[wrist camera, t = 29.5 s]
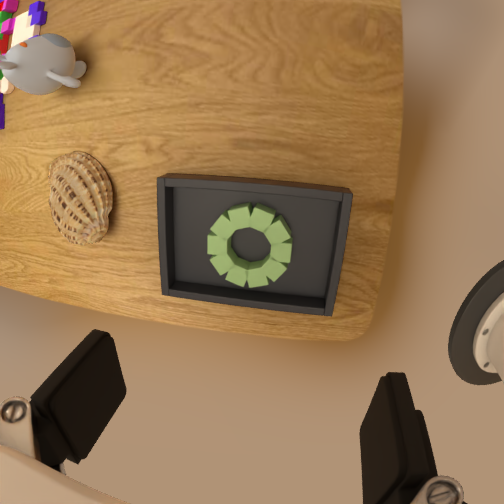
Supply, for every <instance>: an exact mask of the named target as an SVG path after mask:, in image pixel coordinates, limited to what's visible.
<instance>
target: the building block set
mask: <svg viewBox="0 0 504 504" xmlns="http://www.w3.org/2000/svg"><path fill="white" fill-rule="evenodd" d="M18 2H19V1H17V0H0V55H5V54H6V53H7V45H8V38H9V35H10V34H12V33H13V37H12V44H11V48H12V47H13V46H15V45H16V44H18V43H20V42H23V41H25V40H27V39H30V38H34V37H37V36H40V35H39V32H40V26H41V25H43V24H45V22H46V16H47V12H46V11H43V8H44V3H45V2H41V1H37V2H35V3H33V4H31V5H30V7H29V11H27V12H25V13H23V14H21V15H19V16H17V17H15V18H13V19H11V18H12V13H14V12H16V11H17V7H18ZM13 90H14V85H13V84H12V83H10V82H9V81H8V80H7V79H6V78H5V77H4V75H3V73H2V69H1V68H0V129H4V106H5V104H3V94H10V93H11V92H12V91H13Z"/></svg>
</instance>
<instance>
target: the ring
mask: <svg viewBox="0 0 504 504" xmlns="http://www.w3.org/2000/svg"><path fill="white" fill-rule="evenodd" d="M275 213H276V210H274V209H272V208H270V207H267V206H265V205H262V204H260V203H257V204H256V205H255V207H254V209H253V208H252V204H251V202H248V203H243V204H239V205H235V206H232V207H231V208H230V209H229V210H225V211H224V212H223V214H222V215H221V216H220V217H219V218H218V220H217V221H216V222H215V223H214V225H213V226H212V227H211V228H210V230H211V232H210V233H209V234H208V250H207V253H208V254H212V257H211V258H210V261H211V263H212V264H213V266H214V267H215V268H216V270H217V271H218V273H219V274H220V275H223V274H224V273H226V272H228V274H227V276H226V279H225V280H227V281H230V282H232V283H235V284H237V285H239V286H242V287H244V285H245V283H246V280H247V281H248V285H249V288H252V287H258V286H264V285H269V280H270V279H271V280H272V281H273V282H275V281H276V280H277V279H278V278H279V277H280V276H281V275H282V274H283V273H284V272H285V271H286V270H287V267H288V263H290V260H291V251H292V241H293V238H292V237H291V230H290V228H289V226H288V225H287V223H286V222H285V220H284V218H283V217H282V215H279V216H277V217H276V218H274V216H275ZM273 218H274V219H273ZM247 227H251V228H254V229H256V230H258V231H261V232H263V233H264V234H265V236H266V237H267V239H268V241H269V242H270V244H271V251H270V253H269V254H268V255H267V256H266V257H265V258H264V260H260V261H255V262H248V261H246V260H244V259H241V258H239V257H238V256H237V255H236V253H235V252H234V250H233V249H232V247H231V235H232V234H233V233H234V232H235V231H236V230H238V229H243V228H247Z"/></svg>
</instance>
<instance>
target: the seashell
mask: <svg viewBox="0 0 504 504" xmlns="http://www.w3.org/2000/svg"><path fill="white" fill-rule="evenodd" d="M48 177H49V183H50V188H51V190H50V196H49V205H50V207H51V210H52V218H53V221H54V223H55V225H56V227H57V229H58V230H59V231H60V233H61V234H62V235H63V236H64V237H65V238H66V239H67V240H68V241H69V242H70V243H74V244H80V245H85V244H86V243H92V244H93V243H96V242H98V243H99V242H100V240H101V239H102V238H103V235H105V234H106V232H107V231H108V228H109V219H108V214H109V212H110V211H111V210H112V204H113V191H112V186H111V183H110V180H109V178H108V175H107V173H106V172H105V170H104V168H103V167H102V166H101V165H100V163H99V162H98V161H97V160H96V159H94V158H93V157H92V156H90V155H88V154H86V153H83V152H73V154H65V155H63V156H60V157H58V158H56V159H55V160H54V161H53V162H52V163H51V164H50V166H49V176H48Z"/></svg>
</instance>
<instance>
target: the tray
mask: <svg viewBox="0 0 504 504" xmlns="http://www.w3.org/2000/svg"><path fill="white" fill-rule="evenodd" d="M352 197H353V194H352V192H351V191H350V190H349V188H343V187H335V186H327V185H318V184H309V183H300V182H290V181H279V180H268V179H256V178H244V177H230V176H214V175H196V174H173V173H167V174H165V175H163V176H160V177H157V212H158V239H159V259H160V275H161V289H162V295H167V296H173V297H179V298H186V299H192V300H199V301H206V302H213V303H220V304H228V305H235V306H243V307H251V308H259V309H267V310H275V311H284V312H293V313H303V314H312V315H322V316H323V315H324V316H332V314H333V309H334V304H335V299H336V294H337V289H338V284H339V278H340V273H341V267H342V262H343V256H344V250H345V244H346V238H347V232H348V225H349V218H350V211H351V204H352ZM248 202H251V204H252V208H253V209H254V207H255V205H256V204H257V203H260V204H262V205H265V206H267V207H270V208H272V209H274V210H276V213H275V216H274V218H276V217H277V216H279V215H282V217H283V218H284V220H285V222H286V223H287V225H288V226H289V228H290V230H291V237H292V238H293V241H292V251H291V260H290V263H288V267H287V270H286V271H285V272H284V273H283V274H282V275H281V276H280V277H279V278H278V279H277V280H276V281H275V282H273V281H272V280H271V279H270V280H269V285H264V286H258V287H252V288H249V285H248V281H247V280H246V283H245V285H244V287H242V286H239V285H237V284H235V283H232V282H230V281H227V280H225V279H226V276H227V274H228V272H226V273H224V274H223V275H220V274H219V273H218V271H217V270H216V268H215V267H214V266H213V264H212V263H211V261H210V258H211V257H212V254H208V253H207V250H208V234H209V233H210V232H211V230H210V228H211V227H212V226H213V225H214V223H215V222H216V221H217V220H218V218H219V217H220V216H221V215H222V214H223V212H224V211H225V210H229V209H230V208H231V207H232V206H235V205H239V204H243V203H248ZM274 218H273V219H274ZM231 247H232V249H233V250H234V252H235V253H236V255H237V256H238V257H239V258H241V259H244V260H246V261H248V262H255V261H260V260H264V258H265V257H266V256H267V255H268V254H269V253H270V251H271V244H270V242H269V241H268V239H267V237H266V236H265V234H264V233H263V232H261V231H258V230H256V229H254V228H251V227H247V228H243V229H238V230H236V231H235V232H234V233H233V234H232V235H231Z"/></svg>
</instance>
